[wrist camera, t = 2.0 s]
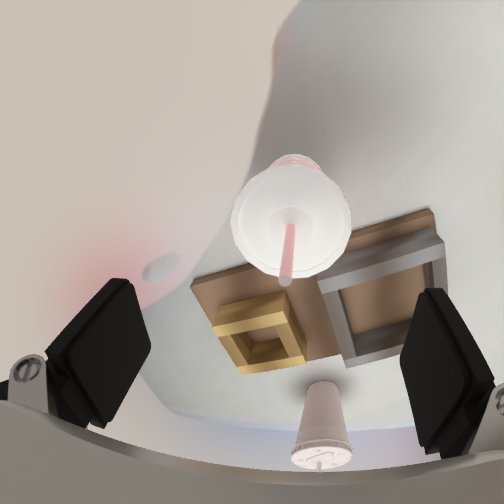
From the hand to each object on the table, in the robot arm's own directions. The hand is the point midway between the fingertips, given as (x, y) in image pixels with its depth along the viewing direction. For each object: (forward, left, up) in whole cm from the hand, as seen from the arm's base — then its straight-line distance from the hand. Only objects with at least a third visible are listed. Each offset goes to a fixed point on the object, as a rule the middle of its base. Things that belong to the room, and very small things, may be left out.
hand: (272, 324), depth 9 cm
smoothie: (+24, +4, -16) cm, 29 cm away
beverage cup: (-1, 0, -16) cm, 16 cm away
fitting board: (+10, +3, -16) cm, 19 cm away
